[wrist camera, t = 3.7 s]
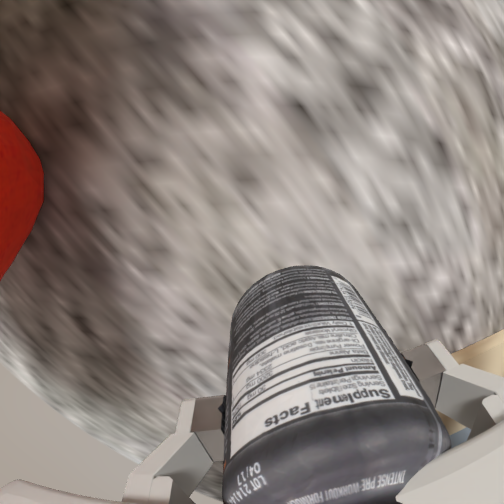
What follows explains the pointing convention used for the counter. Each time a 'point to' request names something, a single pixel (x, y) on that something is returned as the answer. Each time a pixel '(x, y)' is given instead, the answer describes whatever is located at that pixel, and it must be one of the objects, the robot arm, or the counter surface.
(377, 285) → the counter surface
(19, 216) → the apple
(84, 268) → the counter surface
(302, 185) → the counter surface
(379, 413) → the pill bottle
